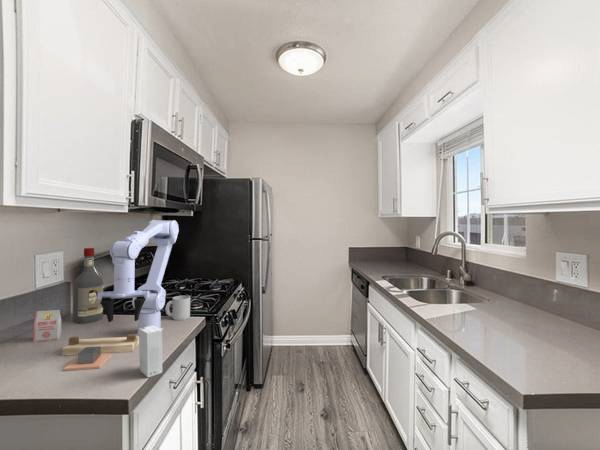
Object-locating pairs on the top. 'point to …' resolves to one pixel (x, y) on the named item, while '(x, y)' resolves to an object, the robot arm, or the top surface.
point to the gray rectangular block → (89, 355)
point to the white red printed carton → (47, 325)
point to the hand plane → (102, 344)
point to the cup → (179, 308)
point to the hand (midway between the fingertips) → (123, 320)
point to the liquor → (87, 292)
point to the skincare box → (150, 350)
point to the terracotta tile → (95, 365)
